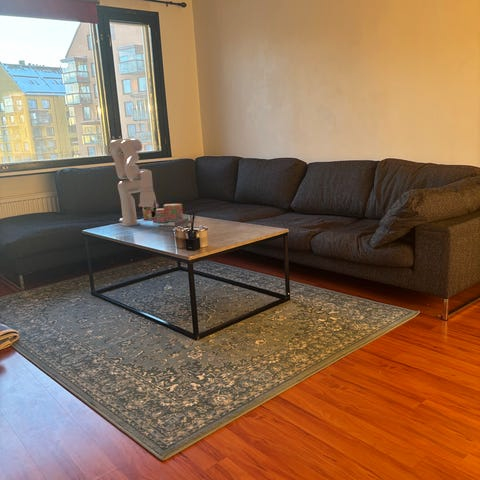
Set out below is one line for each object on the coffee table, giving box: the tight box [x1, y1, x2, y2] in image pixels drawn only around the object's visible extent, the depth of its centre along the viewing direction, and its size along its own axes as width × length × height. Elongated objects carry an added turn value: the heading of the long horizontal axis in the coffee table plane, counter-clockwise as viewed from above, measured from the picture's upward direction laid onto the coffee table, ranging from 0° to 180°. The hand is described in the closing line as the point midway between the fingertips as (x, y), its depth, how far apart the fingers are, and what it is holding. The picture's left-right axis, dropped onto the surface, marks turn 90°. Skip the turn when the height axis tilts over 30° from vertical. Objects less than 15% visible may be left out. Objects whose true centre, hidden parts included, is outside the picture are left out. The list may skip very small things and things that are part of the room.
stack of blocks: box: [152, 203, 184, 223], centre depth 353 cm, size 21×6×12 cm, turn 81°
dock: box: [157, 217, 189, 232], centre depth 328 cm, size 14×16×6 cm
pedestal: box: [142, 207, 156, 222], centre depth 322 cm, size 6×6×7 cm
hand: (149, 216), depth 322 cm, fingers closed on pedestal, 5 cm apart
